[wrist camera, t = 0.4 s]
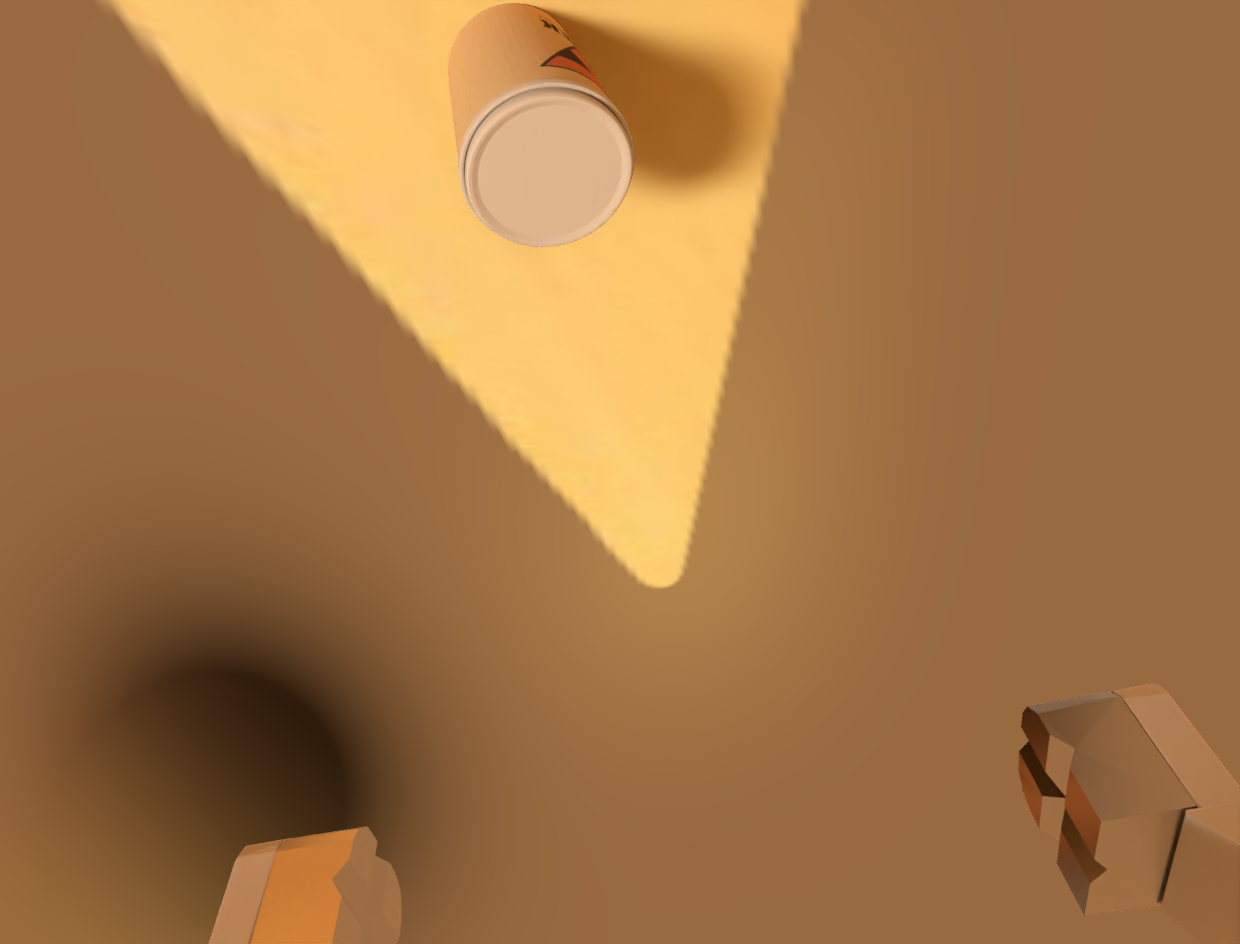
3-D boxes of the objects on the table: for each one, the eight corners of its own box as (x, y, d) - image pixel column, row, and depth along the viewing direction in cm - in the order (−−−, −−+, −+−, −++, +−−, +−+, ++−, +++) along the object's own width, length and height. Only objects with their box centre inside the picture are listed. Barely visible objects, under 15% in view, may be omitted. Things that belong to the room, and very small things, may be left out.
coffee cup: (612, 93, 57) (664, 199, 50) (485, 166, 59) (517, 279, 51) (543, -47, 50) (592, 53, 43) (401, 42, 52) (424, 152, 44)
